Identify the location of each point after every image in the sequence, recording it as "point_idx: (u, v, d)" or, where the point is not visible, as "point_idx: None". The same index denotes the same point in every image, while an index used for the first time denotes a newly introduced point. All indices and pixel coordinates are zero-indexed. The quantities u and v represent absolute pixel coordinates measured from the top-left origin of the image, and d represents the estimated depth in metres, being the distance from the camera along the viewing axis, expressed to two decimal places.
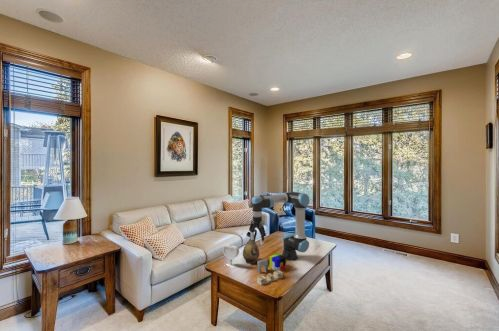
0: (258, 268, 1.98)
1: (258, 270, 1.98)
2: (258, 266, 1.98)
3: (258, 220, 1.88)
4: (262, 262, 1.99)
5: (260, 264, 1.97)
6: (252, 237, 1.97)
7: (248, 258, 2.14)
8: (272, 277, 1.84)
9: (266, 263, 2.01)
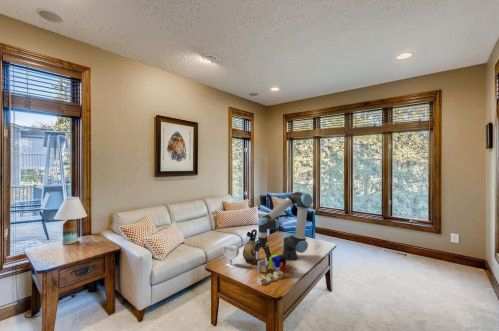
0: (258, 268, 1.98)
1: (258, 270, 1.98)
2: (258, 266, 1.98)
3: (264, 241, 1.97)
4: (262, 262, 1.99)
5: (260, 264, 1.97)
6: (257, 256, 2.06)
7: (248, 258, 2.14)
8: (272, 277, 1.84)
9: None
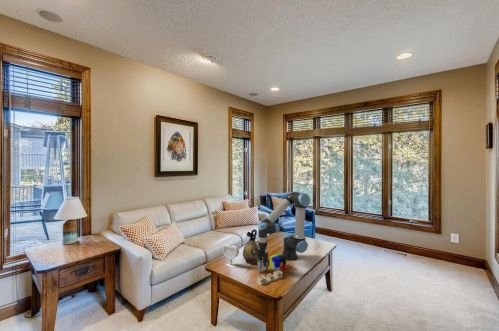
0: (258, 268, 1.98)
1: (258, 270, 1.98)
2: (258, 266, 1.98)
3: (264, 246, 1.97)
4: (262, 262, 1.99)
5: (260, 264, 1.97)
6: None
7: (248, 258, 2.14)
8: (272, 277, 1.84)
9: (266, 263, 2.01)
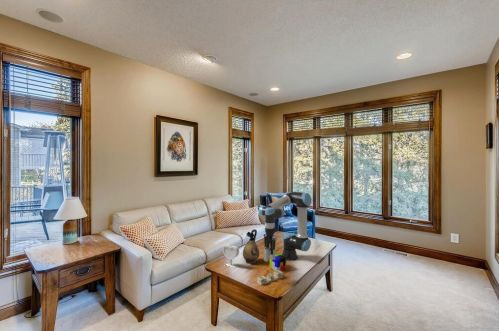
0: (265, 256, 1.84)
1: (265, 258, 1.84)
2: (265, 254, 1.84)
3: (271, 232, 1.83)
4: (269, 249, 1.84)
5: (267, 252, 1.83)
6: (268, 253, 1.87)
7: (248, 258, 2.14)
8: (272, 277, 1.84)
9: (273, 251, 1.87)
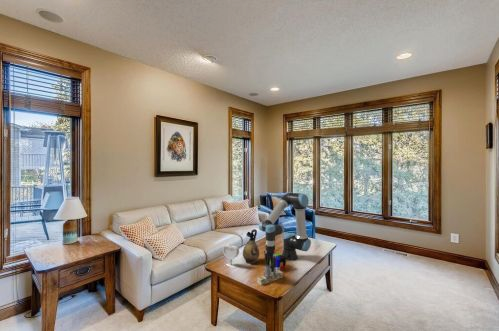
0: (265, 274, 1.83)
1: (265, 276, 1.83)
2: (265, 271, 1.83)
3: (271, 249, 1.82)
4: None
5: (267, 269, 1.83)
6: None
7: (248, 258, 2.14)
8: (272, 277, 1.84)
9: (274, 268, 1.86)
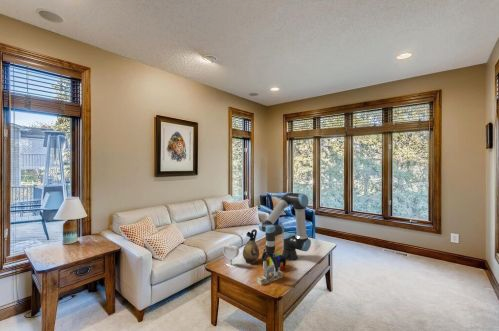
0: (265, 275, 1.83)
1: None
2: (265, 273, 1.83)
3: (271, 250, 1.82)
4: (269, 269, 1.84)
5: (267, 271, 1.83)
6: (265, 266, 1.91)
7: (248, 258, 2.14)
8: (272, 277, 1.84)
9: None
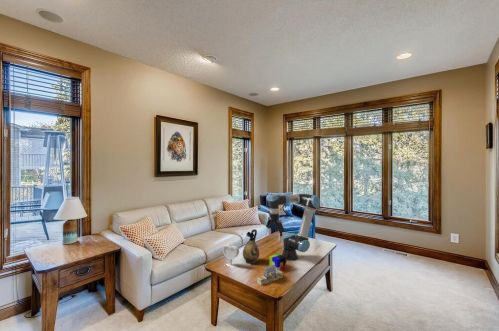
0: (265, 275, 1.83)
1: None
2: (265, 273, 1.83)
3: (276, 217, 1.97)
4: (269, 269, 1.84)
5: (267, 271, 1.83)
6: (269, 233, 2.06)
7: (248, 258, 2.14)
8: (272, 277, 1.84)
9: (274, 270, 1.86)
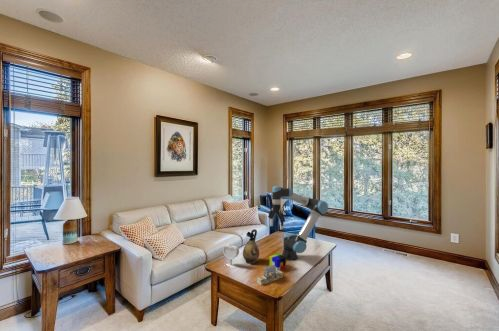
0: (265, 275, 1.83)
1: None
2: (265, 273, 1.83)
3: (277, 207, 2.06)
4: (269, 269, 1.84)
5: (267, 271, 1.83)
6: (271, 223, 2.15)
7: (248, 258, 2.14)
8: (272, 277, 1.84)
9: (274, 270, 1.86)
